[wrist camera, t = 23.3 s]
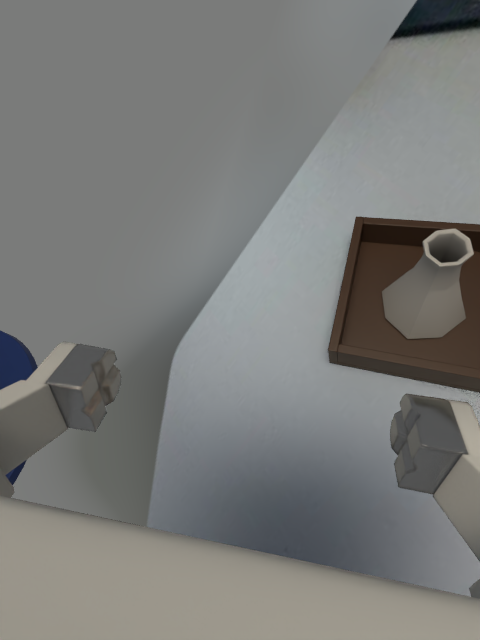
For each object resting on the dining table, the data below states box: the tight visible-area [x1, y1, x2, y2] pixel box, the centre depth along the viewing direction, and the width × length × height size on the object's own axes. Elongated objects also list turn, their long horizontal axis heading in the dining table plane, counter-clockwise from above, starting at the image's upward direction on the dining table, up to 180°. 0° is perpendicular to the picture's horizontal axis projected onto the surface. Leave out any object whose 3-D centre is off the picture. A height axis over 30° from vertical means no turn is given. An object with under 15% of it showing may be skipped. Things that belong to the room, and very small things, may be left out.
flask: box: [382, 228, 474, 339], centre depth 30 cm, size 7×7×10 cm
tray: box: [328, 217, 480, 392], centre depth 34 cm, size 15×15×4 cm
